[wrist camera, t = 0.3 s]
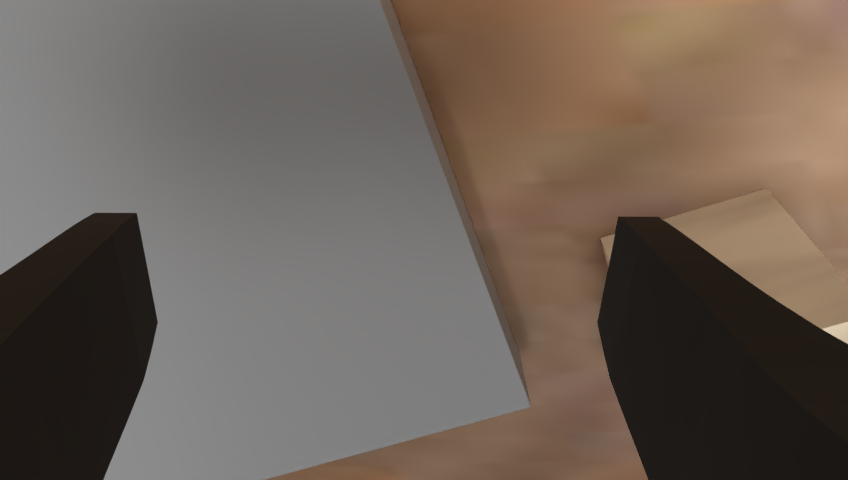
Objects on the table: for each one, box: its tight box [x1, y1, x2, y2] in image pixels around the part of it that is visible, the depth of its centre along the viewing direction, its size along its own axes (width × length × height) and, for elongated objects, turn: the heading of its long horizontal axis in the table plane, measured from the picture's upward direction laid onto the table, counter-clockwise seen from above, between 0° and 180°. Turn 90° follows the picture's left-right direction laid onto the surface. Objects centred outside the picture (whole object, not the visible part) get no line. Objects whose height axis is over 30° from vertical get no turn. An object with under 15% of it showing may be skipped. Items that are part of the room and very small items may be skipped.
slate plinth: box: [0, 0, 531, 480], centre depth 22 cm, size 16×16×2 cm
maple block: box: [600, 188, 848, 344], centre depth 22 cm, size 5×5×6 cm
